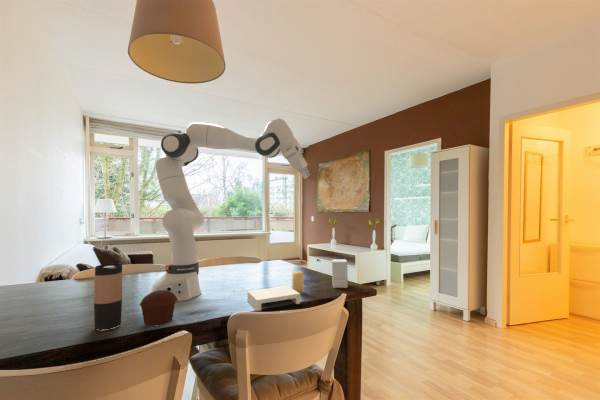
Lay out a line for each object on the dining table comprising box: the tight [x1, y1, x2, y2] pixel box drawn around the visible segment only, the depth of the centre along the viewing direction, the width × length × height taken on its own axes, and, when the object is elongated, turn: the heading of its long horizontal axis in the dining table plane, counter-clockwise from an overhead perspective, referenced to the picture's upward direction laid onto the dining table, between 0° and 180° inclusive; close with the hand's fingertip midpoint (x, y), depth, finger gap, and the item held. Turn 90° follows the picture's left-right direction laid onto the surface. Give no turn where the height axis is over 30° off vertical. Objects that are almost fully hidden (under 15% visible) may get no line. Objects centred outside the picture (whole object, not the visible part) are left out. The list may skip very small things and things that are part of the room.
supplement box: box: [331, 258, 349, 289], centre depth 140 cm, size 7×7×13 cm
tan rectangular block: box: [291, 270, 304, 295], centre depth 130 cm, size 5×5×9 cm
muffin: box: [139, 290, 178, 326], centre depth 98 cm, size 12×11×10 cm
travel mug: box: [93, 262, 123, 330], centre depth 93 cm, size 8×8×20 cm
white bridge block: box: [247, 285, 301, 312], centre depth 116 cm, size 18×13×4 cm
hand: (307, 177), depth 130 cm, fingers open, 8 cm apart
